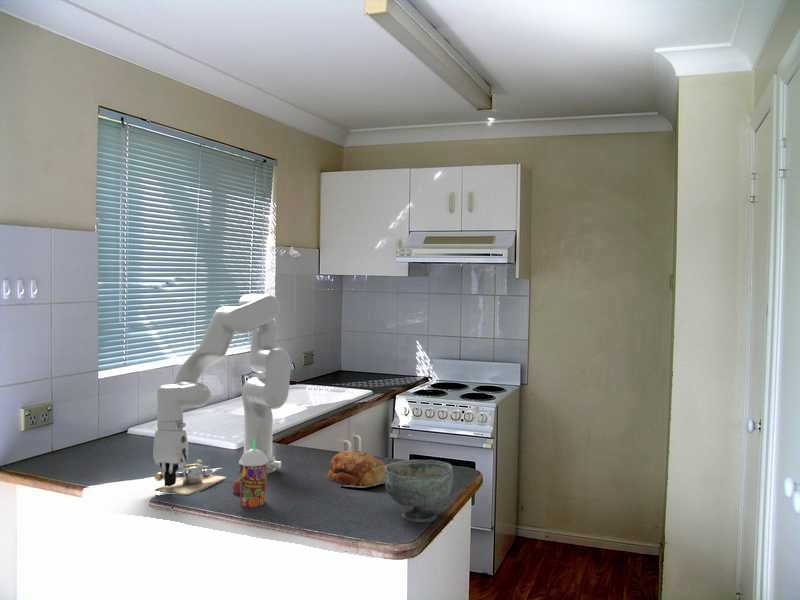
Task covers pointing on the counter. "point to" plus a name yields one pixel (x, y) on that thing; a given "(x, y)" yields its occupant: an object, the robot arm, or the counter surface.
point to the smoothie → (253, 477)
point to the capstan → (189, 474)
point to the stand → (190, 489)
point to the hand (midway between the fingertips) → (170, 484)
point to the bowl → (419, 486)
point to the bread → (356, 469)
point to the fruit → (236, 486)
